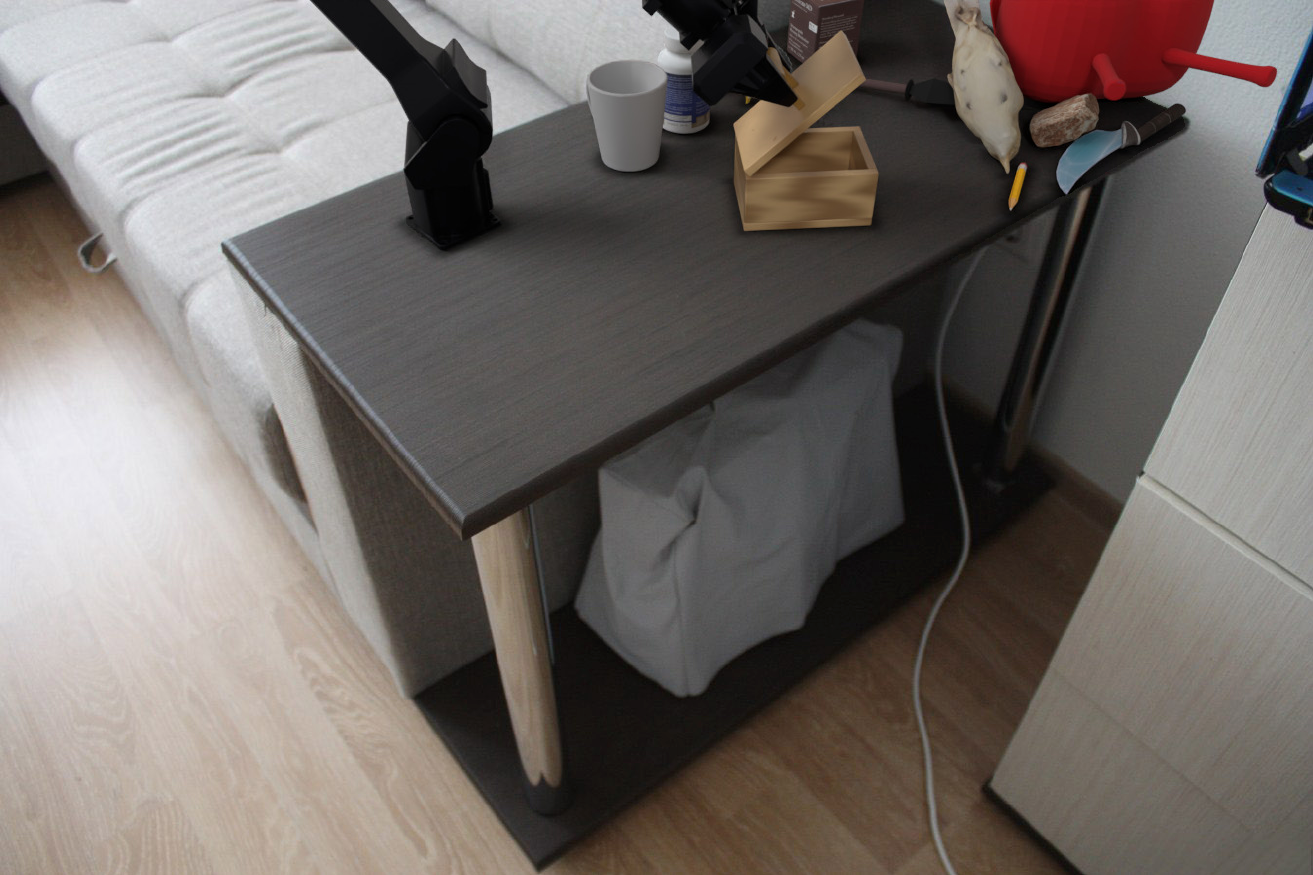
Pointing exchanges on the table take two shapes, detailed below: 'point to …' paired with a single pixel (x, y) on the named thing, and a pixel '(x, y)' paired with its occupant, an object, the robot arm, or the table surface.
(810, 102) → the lid
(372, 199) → the table surface
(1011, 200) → the pencil
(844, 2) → the box
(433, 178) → the robot arm
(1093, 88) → the novelty television
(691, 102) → the pill bottle
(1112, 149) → the knife
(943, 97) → the kunai knife
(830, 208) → the box
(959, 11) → the sculpture
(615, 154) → the cup
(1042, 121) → the stone
